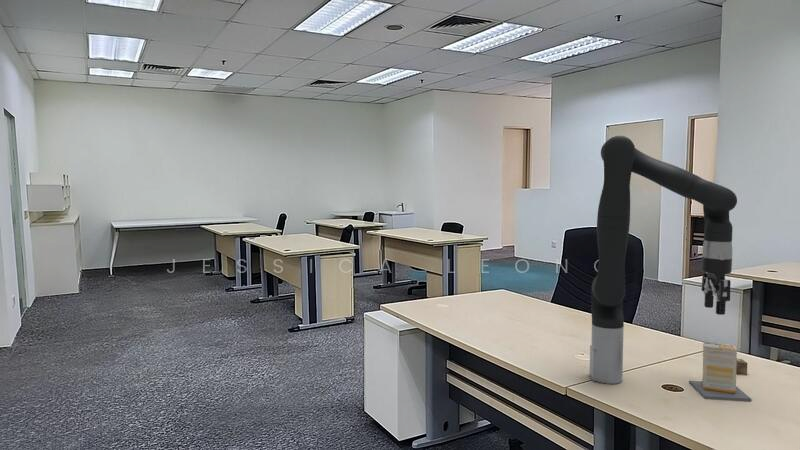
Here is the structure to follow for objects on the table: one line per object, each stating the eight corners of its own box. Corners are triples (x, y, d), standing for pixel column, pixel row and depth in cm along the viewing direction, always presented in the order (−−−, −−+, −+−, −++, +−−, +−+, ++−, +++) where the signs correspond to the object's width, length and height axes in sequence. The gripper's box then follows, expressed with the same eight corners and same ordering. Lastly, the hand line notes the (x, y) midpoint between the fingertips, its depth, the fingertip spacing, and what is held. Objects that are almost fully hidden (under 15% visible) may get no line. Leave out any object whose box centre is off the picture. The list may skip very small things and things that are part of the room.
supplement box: (734, 388, 153) (736, 344, 152) (735, 394, 149) (737, 349, 148) (701, 383, 157) (703, 341, 156) (702, 389, 153) (703, 345, 152)
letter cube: (733, 374, 167) (733, 361, 166) (727, 370, 171) (728, 357, 170) (746, 375, 166) (747, 362, 166) (741, 370, 170) (741, 357, 170)
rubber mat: (704, 398, 148) (704, 396, 148) (689, 383, 160) (689, 380, 160) (751, 401, 146) (751, 398, 146) (731, 385, 158) (732, 382, 158)
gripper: (694, 252, 160) (691, 304, 162) (712, 259, 146) (709, 316, 148) (721, 253, 159) (718, 305, 160) (742, 260, 145) (739, 317, 146)
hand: (714, 310), depth 154 cm, fingers open, 8 cm apart
